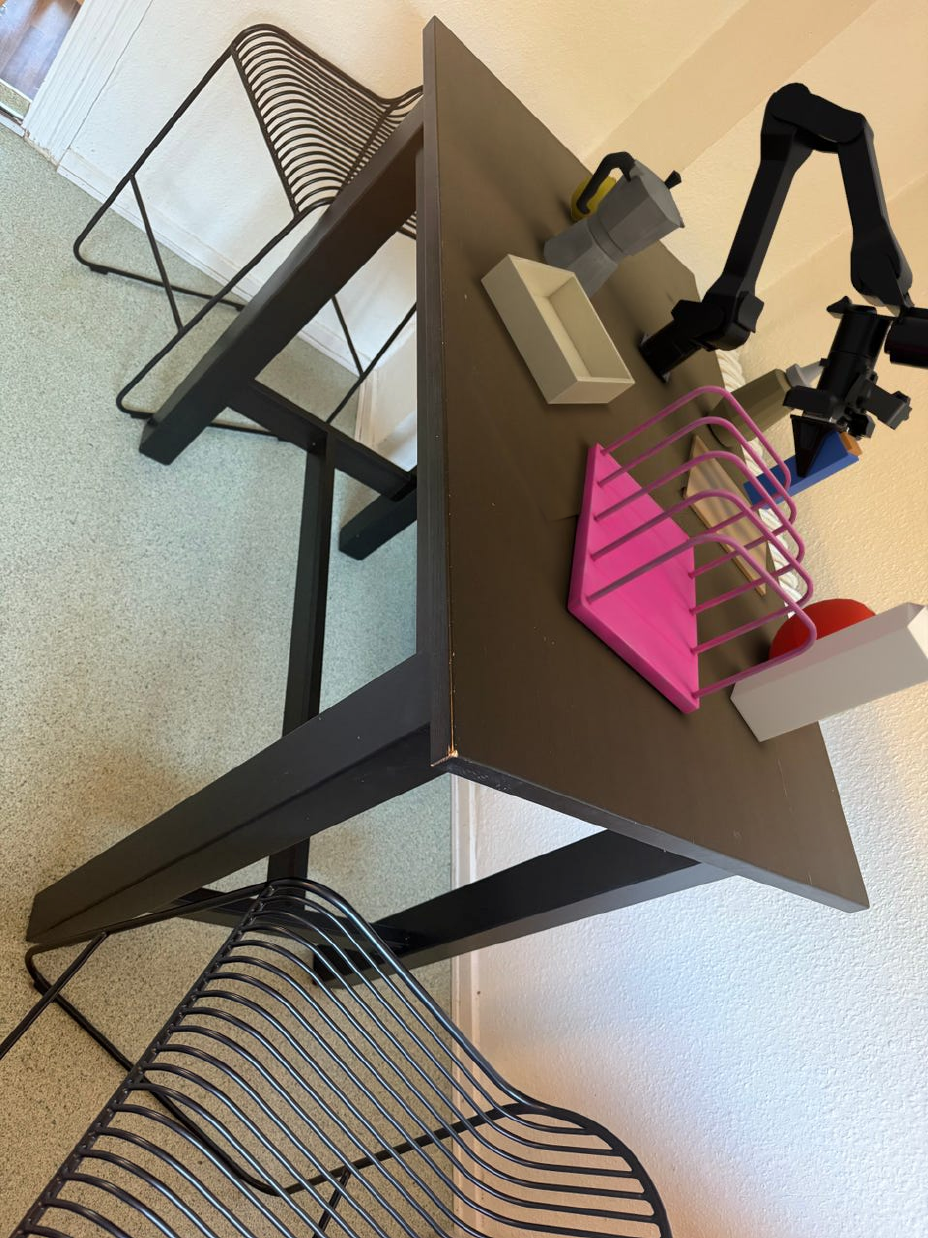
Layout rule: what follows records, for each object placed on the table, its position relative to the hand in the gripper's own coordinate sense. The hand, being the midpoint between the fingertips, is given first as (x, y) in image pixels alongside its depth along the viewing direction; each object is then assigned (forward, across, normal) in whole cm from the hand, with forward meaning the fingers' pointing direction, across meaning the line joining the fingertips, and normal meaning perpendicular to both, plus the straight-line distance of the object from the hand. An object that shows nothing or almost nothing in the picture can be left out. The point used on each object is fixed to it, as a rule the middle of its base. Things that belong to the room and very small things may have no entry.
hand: (807, 479), depth 107 cm
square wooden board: (+7, 0, +9) cm, 11 cm away
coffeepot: (-17, -20, +33) cm, 42 cm away
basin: (-6, -33, +22) cm, 40 cm away
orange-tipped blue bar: (+4, 0, +6) cm, 7 cm away
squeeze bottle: (-4, +13, +20) cm, 24 cm away
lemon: (-27, -6, +44) cm, 52 cm away
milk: (+26, -21, -10) cm, 35 cm away
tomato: (+24, -10, -7) cm, 27 cm away
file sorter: (+14, -36, +2) cm, 38 cm away
